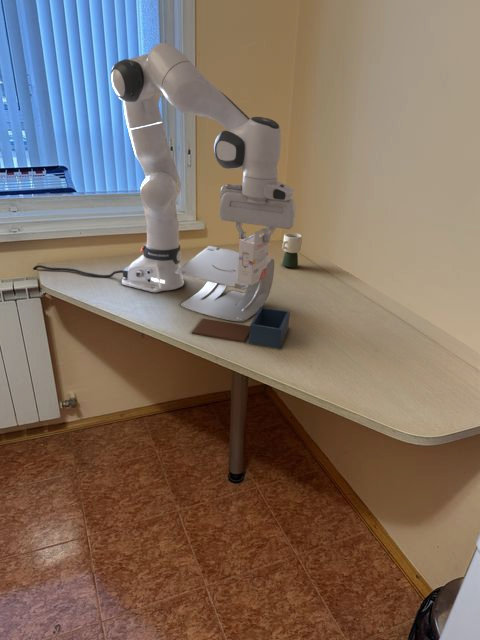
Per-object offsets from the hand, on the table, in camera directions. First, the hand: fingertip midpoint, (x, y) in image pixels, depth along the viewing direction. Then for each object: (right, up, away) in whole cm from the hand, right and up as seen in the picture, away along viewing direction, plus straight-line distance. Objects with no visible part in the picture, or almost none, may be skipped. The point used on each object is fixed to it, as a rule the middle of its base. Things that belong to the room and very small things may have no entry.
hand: (254, 240), depth 131 cm
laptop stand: (-8, -14, +32) cm, 36 cm away
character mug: (+18, +4, +67) cm, 69 cm away
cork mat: (-9, -24, +15) cm, 29 cm away
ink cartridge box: (-1, -10, +6) cm, 11 cm away
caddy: (+5, -26, +13) cm, 29 cm away
